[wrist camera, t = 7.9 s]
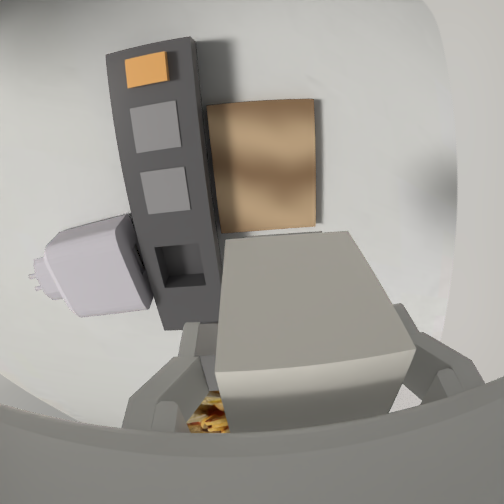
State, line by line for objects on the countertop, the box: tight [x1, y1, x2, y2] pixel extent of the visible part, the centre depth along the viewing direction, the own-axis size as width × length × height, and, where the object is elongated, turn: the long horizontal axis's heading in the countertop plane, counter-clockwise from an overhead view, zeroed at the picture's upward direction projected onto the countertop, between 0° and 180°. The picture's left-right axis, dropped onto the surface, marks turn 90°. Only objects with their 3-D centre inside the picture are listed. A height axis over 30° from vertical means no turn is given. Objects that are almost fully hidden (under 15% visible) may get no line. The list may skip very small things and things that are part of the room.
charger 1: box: [29, 214, 153, 317], centre depth 31 cm, size 5×9×15 cm
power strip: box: [106, 37, 223, 330], centre depth 28 cm, size 28×7×4 cm, turn 4°
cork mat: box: [207, 99, 316, 234], centre depth 28 cm, size 12×9×1 cm
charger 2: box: [215, 231, 416, 433], centre depth 11 cm, size 5×4×8 cm
